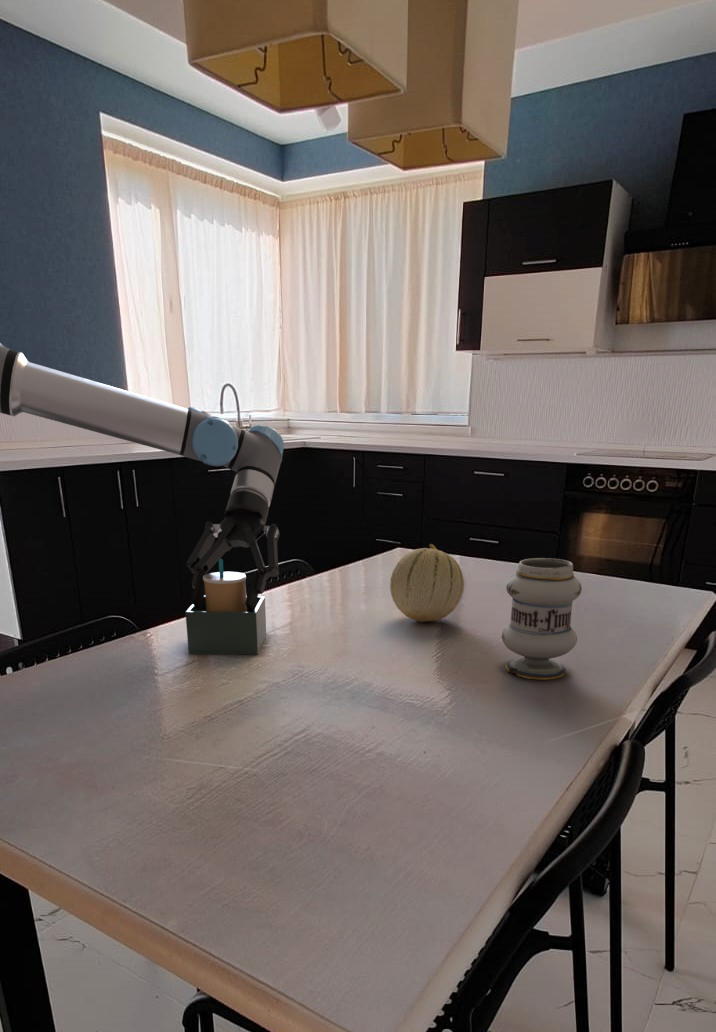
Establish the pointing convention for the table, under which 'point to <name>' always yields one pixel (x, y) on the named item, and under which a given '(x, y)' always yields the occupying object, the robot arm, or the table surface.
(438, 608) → the cantaloupe
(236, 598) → the drink cup
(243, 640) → the bin
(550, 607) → the apothecary jar
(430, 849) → the table surface
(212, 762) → the table surface
